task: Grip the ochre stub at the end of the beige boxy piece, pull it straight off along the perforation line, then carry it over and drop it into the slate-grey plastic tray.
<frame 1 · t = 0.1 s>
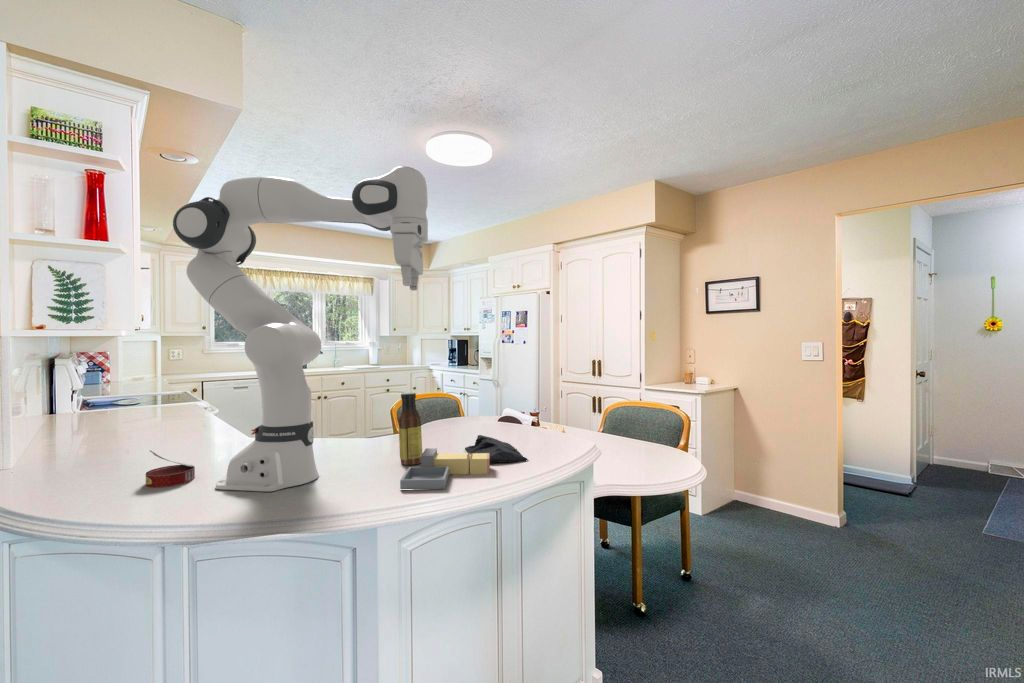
hand: (410, 288, 116), 48 cm above the countertop, tool pointing down, fingers open, 8 cm apart
crumpled black cloth: (495, 456, 138), on the countertop
sauce bottle: (410, 463, 129), on the countertop
canned food: (170, 482, 114), on the countertop
beige boxy piece: (446, 471, 121), on the countertop
stub: (479, 471, 121), on the countertop
tray: (426, 482, 111), on the countertop
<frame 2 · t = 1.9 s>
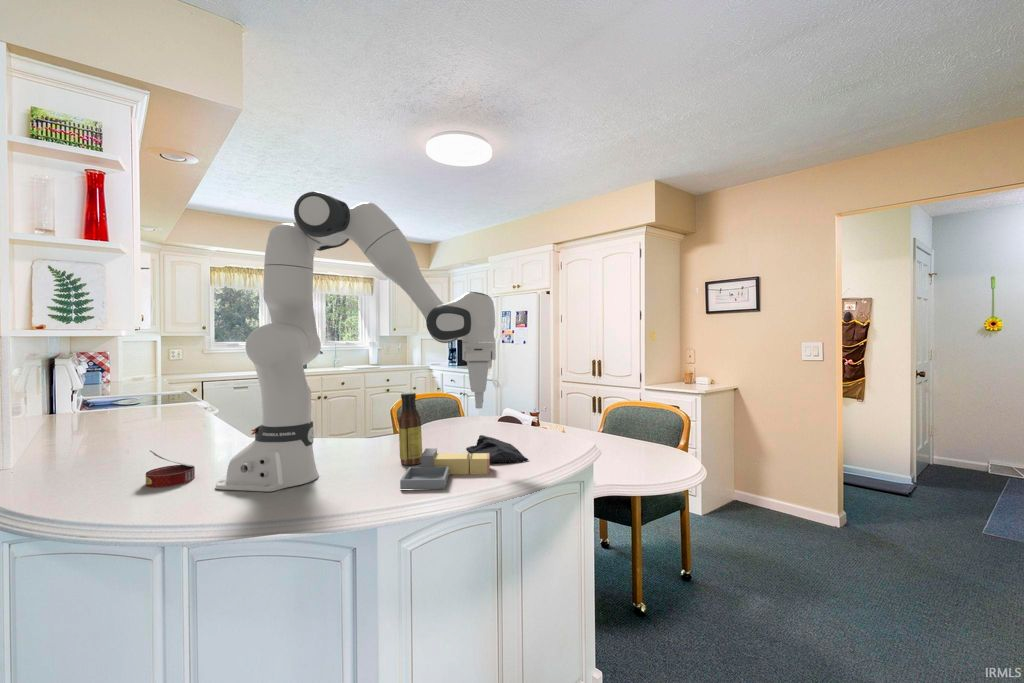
hand: (479, 405, 121), 17 cm above the countertop, tool pointing down, fingers open, 8 cm apart
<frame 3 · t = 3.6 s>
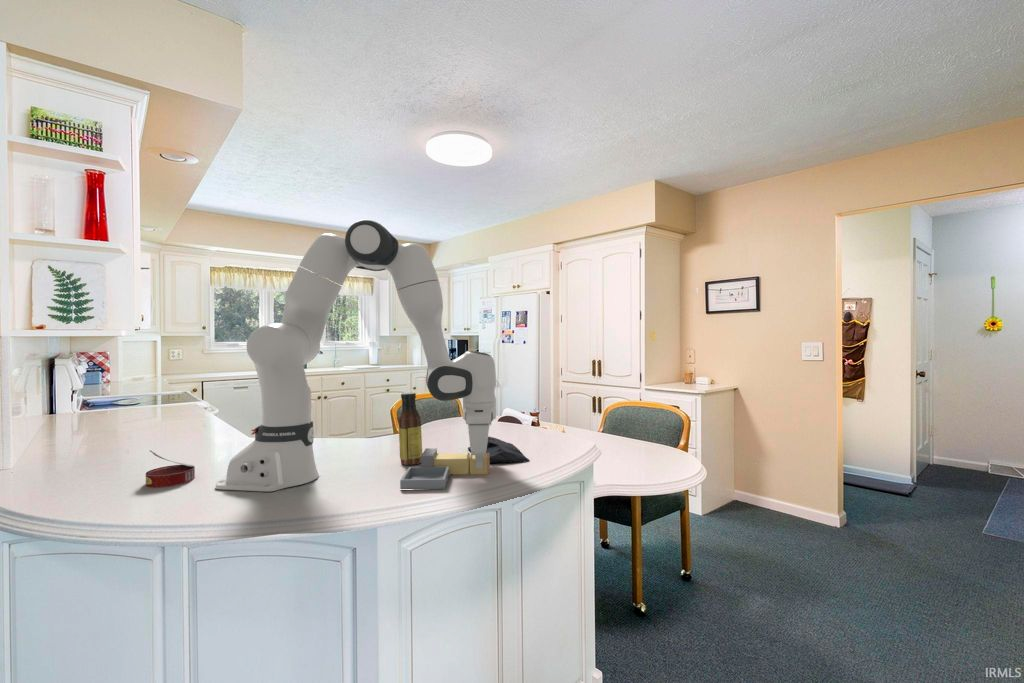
hand: (479, 464, 121), 2 cm above the countertop, tool pointing down, fingers closed on stub, 6 cm apart
stub: (479, 470, 121), on the countertop, touching gripper
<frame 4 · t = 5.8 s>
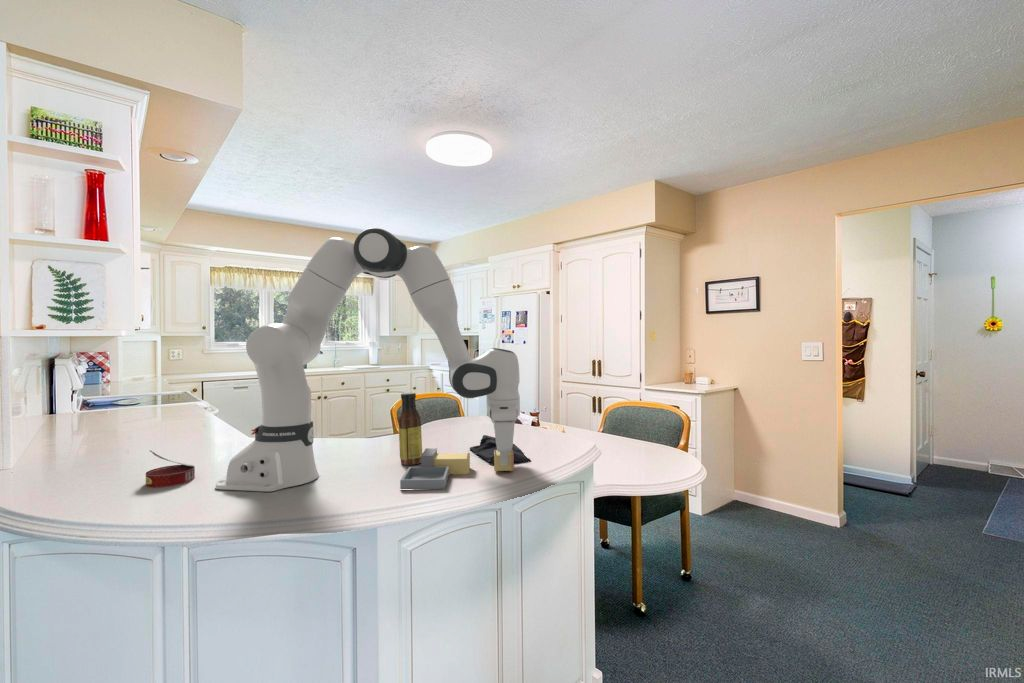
hand: (503, 461, 122), 2 cm above the countertop, tool pointing down, fingers closed on stub, 6 cm apart
stub: (503, 467, 122), point 1 cm above the countertop, touching gripper
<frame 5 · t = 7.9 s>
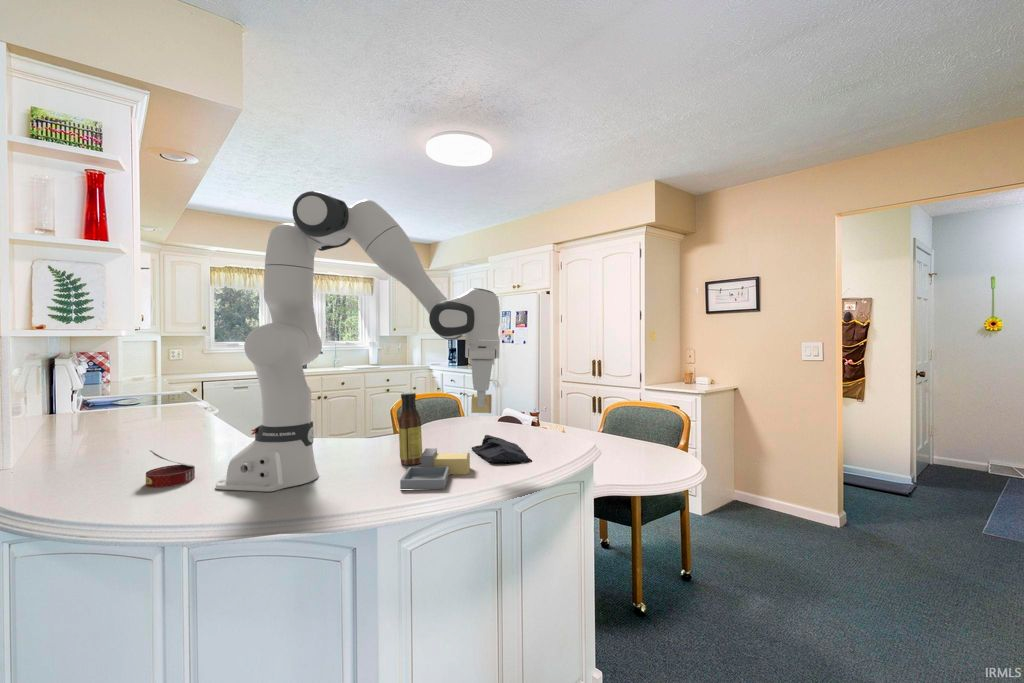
hand: (481, 404, 119), 18 cm above the countertop, tool pointing down, fingers closed on stub, 6 cm apart
stub: (481, 411, 119), point 16 cm above the countertop, touching gripper
when the fingers open (4 cm above the countertop, at t = 11.0 s): stub drops 1 cm, resting on tray.
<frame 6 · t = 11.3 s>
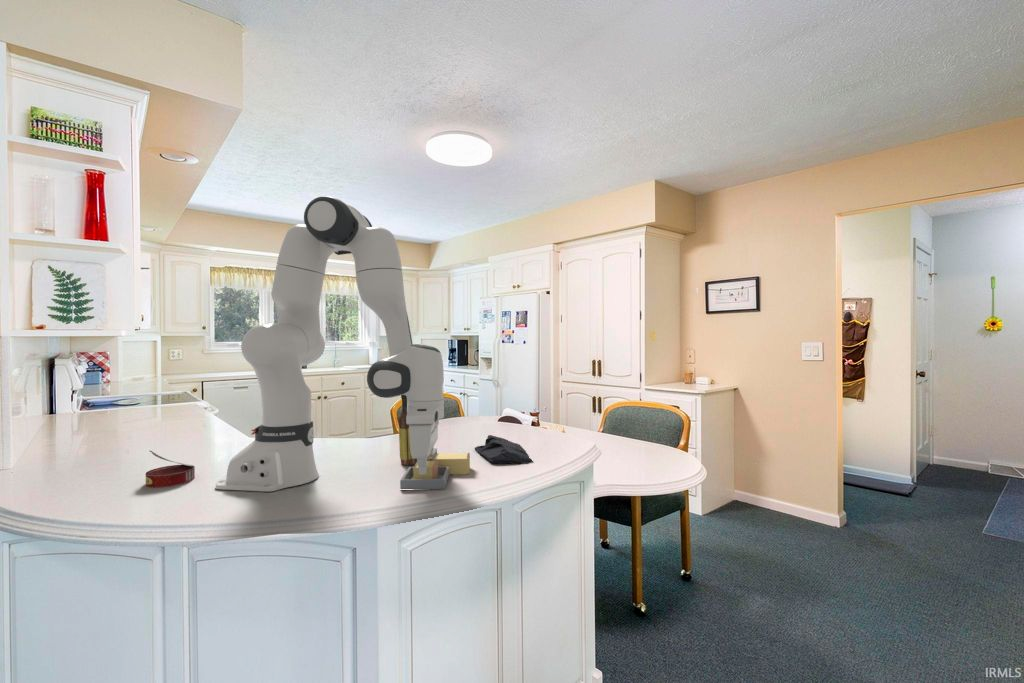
hand: (425, 467, 111), 4 cm above the countertop, tool pointing down, fingers open, 8 cm apart
stub: (426, 480, 111), point 1 cm above the countertop, touching tray
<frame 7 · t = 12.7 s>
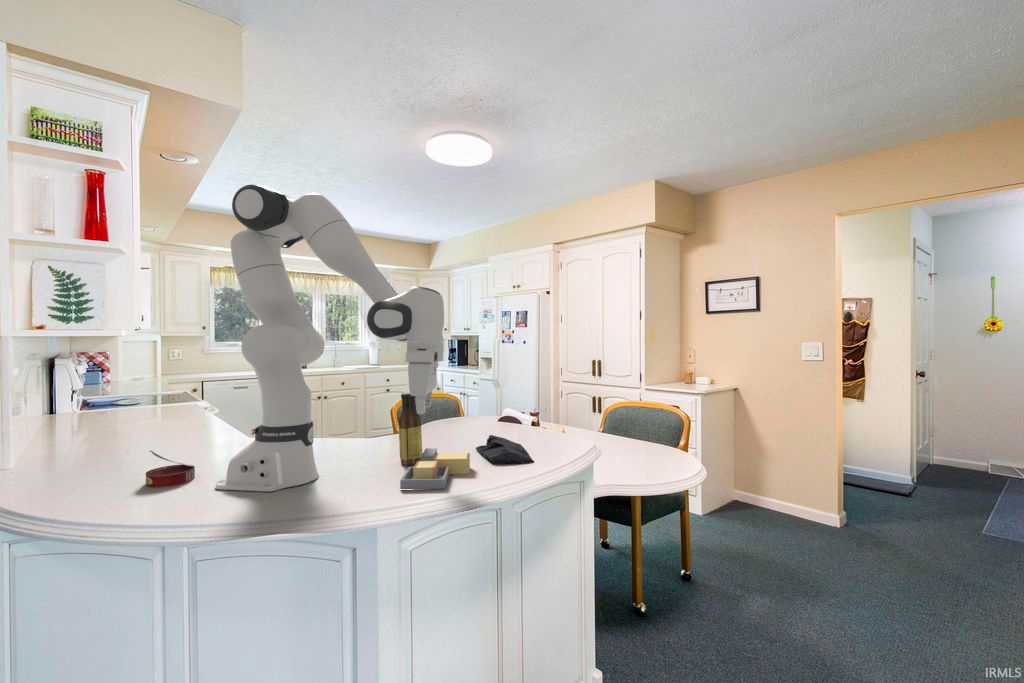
hand: (423, 410, 111), 18 cm above the countertop, tool pointing down, fingers open, 8 cm apart
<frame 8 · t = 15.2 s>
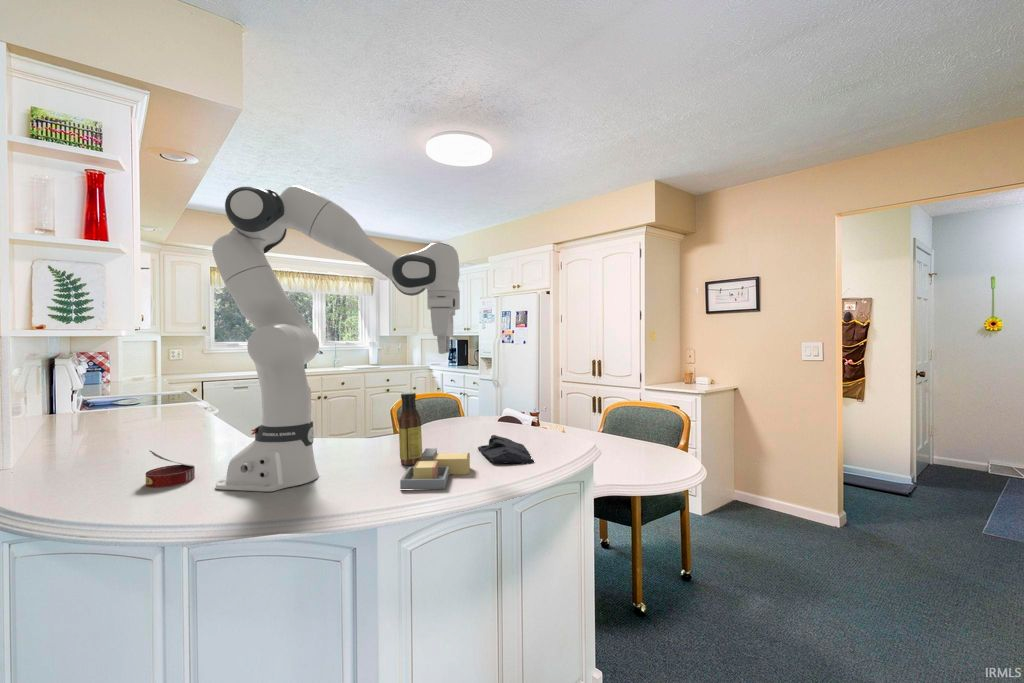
hand: (444, 353, 126), 31 cm above the countertop, tool pointing down, fingers open, 8 cm apart
at the end: stub inside the target area on the tray (0.0 cm from its centre), point 0.5 cm above the tray's base; stub moved 16.0 cm from its start; the gripper is holding nothing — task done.
